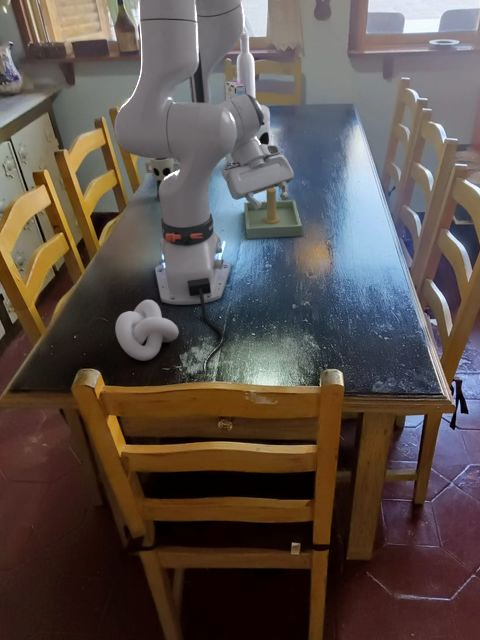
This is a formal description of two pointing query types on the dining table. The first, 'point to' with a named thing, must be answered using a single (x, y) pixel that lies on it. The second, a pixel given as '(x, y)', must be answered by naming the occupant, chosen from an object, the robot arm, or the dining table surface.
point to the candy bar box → (234, 89)
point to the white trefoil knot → (144, 330)
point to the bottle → (246, 66)
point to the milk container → (259, 132)
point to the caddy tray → (272, 229)
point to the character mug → (161, 168)
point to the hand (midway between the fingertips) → (273, 203)
